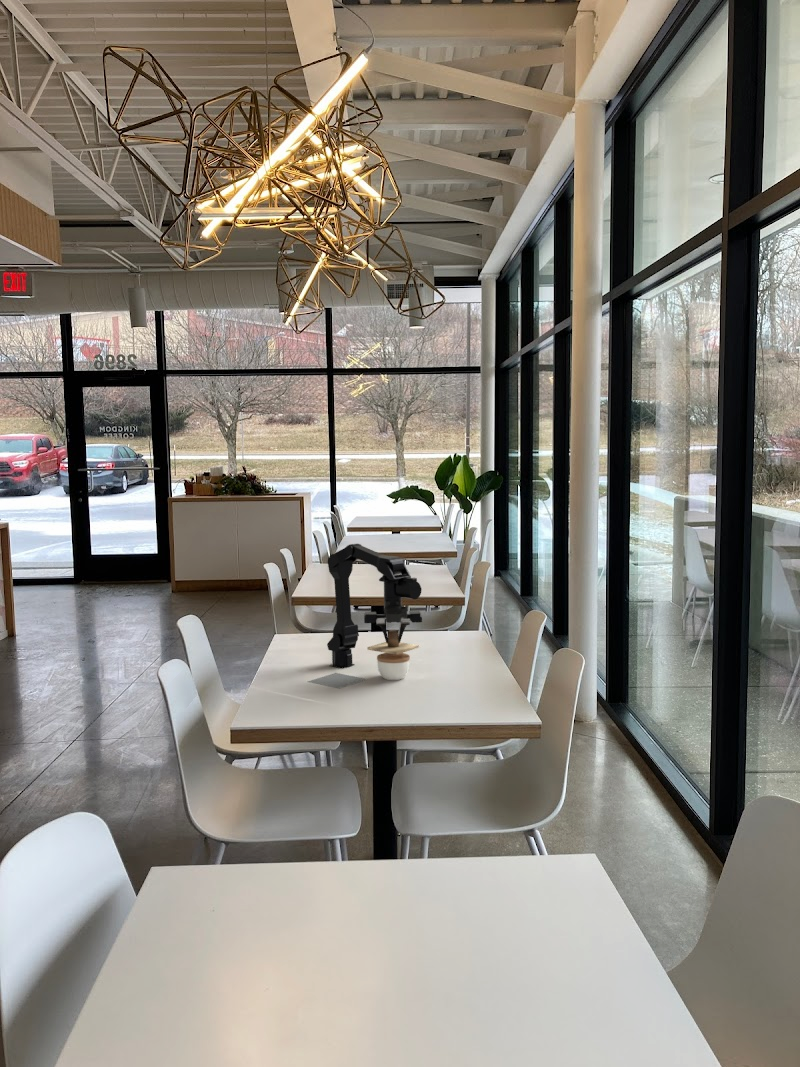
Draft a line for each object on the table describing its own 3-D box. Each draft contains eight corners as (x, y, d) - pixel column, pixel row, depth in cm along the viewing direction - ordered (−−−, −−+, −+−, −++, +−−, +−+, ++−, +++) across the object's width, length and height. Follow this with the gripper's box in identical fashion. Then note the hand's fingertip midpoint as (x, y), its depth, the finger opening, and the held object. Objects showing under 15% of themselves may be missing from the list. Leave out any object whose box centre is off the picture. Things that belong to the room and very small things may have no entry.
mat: (307, 682, 289) (307, 681, 288) (335, 673, 300) (335, 672, 300) (339, 689, 280) (339, 688, 280) (367, 680, 291) (367, 678, 291)
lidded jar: (411, 675, 297) (411, 647, 296) (408, 683, 286) (408, 655, 286) (379, 674, 298) (379, 647, 297) (375, 683, 288) (375, 654, 287)
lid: (367, 649, 290) (367, 632, 290) (389, 643, 300) (389, 626, 299) (396, 654, 283) (396, 636, 282) (418, 647, 292) (418, 630, 292)
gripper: (364, 600, 281) (364, 649, 283) (423, 599, 282) (423, 648, 284) (363, 594, 292) (364, 641, 294) (420, 593, 293) (420, 640, 295)
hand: (393, 643), depth 291 cm, fingers closed on lid, 4 cm apart
